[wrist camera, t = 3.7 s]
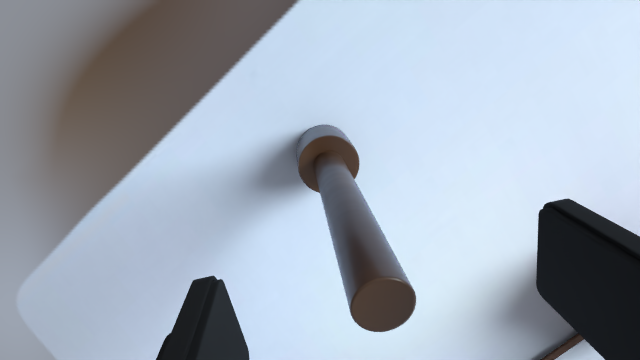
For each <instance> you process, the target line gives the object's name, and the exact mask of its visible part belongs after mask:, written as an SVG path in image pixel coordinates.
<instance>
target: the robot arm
mask: <svg viewBox="0 0 640 360" xmlns="http://www.w3.org/2000/svg"><path fill="white" fill-rule="evenodd" d="M536 285H537V289H538V292H539V293H540V295H541V296H542V298H543V299H544V300H545V301H546V302H547V303H548V304H549V305H550V306H551V307H553V308H554V309H555V310H556V311H557V312H558V313H559V314H560V315H561V316H562V317H563V318H564V319H565V320H566V321H567V322H568V323H569V324H570V325H571V326H572V327H573V328H574V329H575V330H576V331H577V332H578V333H579V334H580V335H581V336H582V337H583V338H584V339H585V340H586V341H587V342H588V343H589V344H590V345H591V346H592V347H593V348H594V349H595V350H596V351H597V352H598V353H599V354H600V355H601V356H602V357H603V358H604V359H605V360H640V237H639V236H637V235H636V234H634V233H632V232H630V231H628V230H626V229H624V228H623V227H621V226H619V225H617V224H615V223H613V222H611V221H610V220H608V219H606V218H604V217H602V216H600V215H599V214H597V213H595V212H593V211H591V210H589V209H587V208H586V207H584V206H582V205H580V204H578V203H576V202H574V201H573V200H570V199H563V200H558V201H554V202H549V203H546V204H545V205H544V207H543V209H542V210H540V212H539V221H538V250H537V280H536ZM156 360H249V351H248V347H247V344H246V342H245V339H244V336H243V333H242V331H241V328H240V325H239V322H238V320H237V317H236V314H235V311H234V309H233V306H232V303H231V300H230V298H229V295H228V292H227V290H226V287H225V284H224V282H223V280H221V279H220V280H217V279H216V277H215V276H210V277H205V278H201V279H196V280H193V282H192V284H191V286H190V289H189V291H188V293H187V296H186V298H185V301H184V303H183V306H182V308H181V310H180V313H179V315H178V318H177V320H176V323H175V325H174V327H173V330H172V332H171V333H170V334H169V335H167V337H166V338H165V340H164V342H163V344H162V347H161V349H160V351H159V354H158V356H157V358H156Z"/></svg>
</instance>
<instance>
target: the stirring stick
mask: <svg viewBox="0 0 640 360" xmlns="http://www.w3.org/2000/svg"><path fill="white" fill-rule="evenodd" d="M297 162H298V169H299V174H300V177H301V179H302V180H303V182H304V183H305V184H306V185H307V186H308V187H309V188H310V189H312V190H314V191H316V192H319V193H320V194H321V198H322V202H323V206H324V210H325V214H326V218H327V222H328V226H329V230H330V234H331V238H332V242H333V246H334V250H335V254H336V258H337V262H338V266H339V269H340V273H341V277H342V281H343V285H344V289H345V293H346V297H347V301H348V305H349V309H350V313H351V316H352V318H353V320H354V321H355V322H356V323H357V324H358V325H359V326H360V327H362V328H364V329H366V330H369V331H373V332H384V331H389V330H392V329H395V328H397V327H399V326H401V325H402V324H404V323H405V322H406V321H407V320H408V319H409V318H410V316H411V315H412V313H413V311H414V309H415V305H416V295H415V292H414V290H413V288H412V286H411V284H410V282H409V280H408V278H407V277H406V275H405V273H404V271H403V269H402V267H401V265H400V264H399V262H398V260H397V258H396V256H395V254H394V253H393V251H392V249H391V247H390V245H389V243H388V241H387V240H386V238H385V236H384V234H383V232H382V230H381V228H380V227H379V225H378V223H377V221H376V219H375V217H374V215H373V214H372V212H371V210H370V208H369V206H368V204H367V202H366V201H365V199H364V197H363V195H362V193H361V191H360V189H359V188H358V186H357V184H356V182H355V180H354V179H355V177H356V175H357V173H358V170H359V157H358V154H357V151H356V149H355V148H354V146H353V145H352V143H351V142H350V141H349V139H348V138H347V136H346V135H345V134H344V133H343V132H342V131H341V130H340V129H338V128H336V127H334V126H330V125H319V126H315V127H313V128H311V129H309V130H308V131H306V132H305V133H304V134H303V135H302V137H301V138H300V140H299V142H298V145H297Z"/></svg>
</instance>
